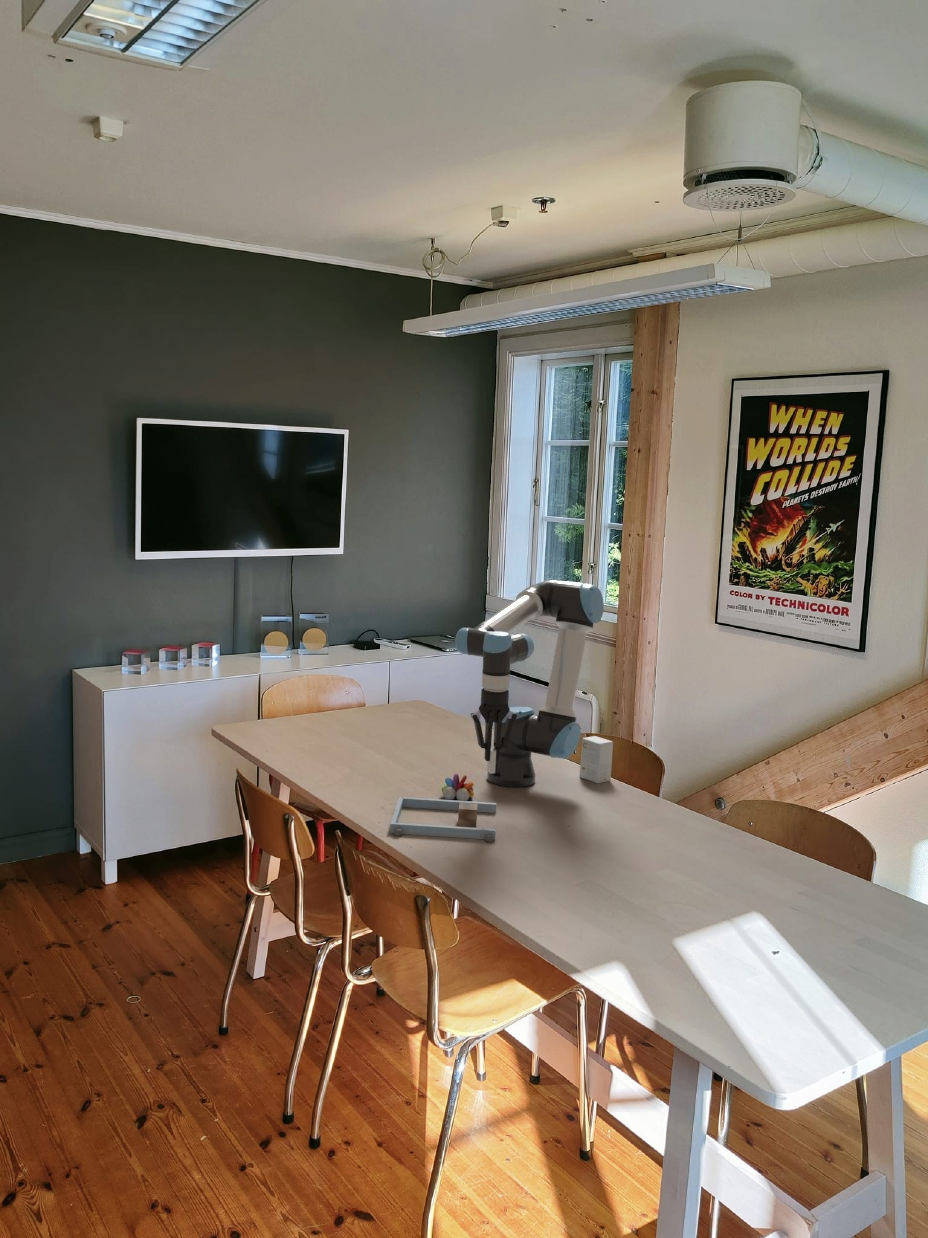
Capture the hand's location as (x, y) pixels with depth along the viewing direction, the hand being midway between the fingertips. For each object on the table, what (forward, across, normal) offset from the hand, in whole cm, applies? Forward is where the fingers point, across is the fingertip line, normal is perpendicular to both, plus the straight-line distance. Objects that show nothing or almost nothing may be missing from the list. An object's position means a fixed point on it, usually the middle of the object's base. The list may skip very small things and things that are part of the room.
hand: (491, 771), depth 279 cm
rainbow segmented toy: (+14, +4, -19) cm, 24 cm away
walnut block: (+14, +7, +2) cm, 16 cm away
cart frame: (+14, +12, 0) cm, 18 cm away
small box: (+15, -45, -33) cm, 58 cm away
